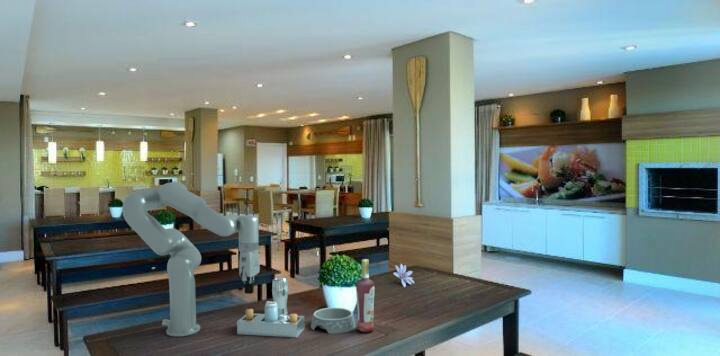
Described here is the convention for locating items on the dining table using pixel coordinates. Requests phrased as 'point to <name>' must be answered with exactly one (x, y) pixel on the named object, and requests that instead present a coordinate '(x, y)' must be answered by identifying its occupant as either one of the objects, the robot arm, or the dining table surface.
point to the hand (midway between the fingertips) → (249, 292)
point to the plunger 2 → (293, 318)
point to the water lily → (403, 275)
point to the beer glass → (280, 294)
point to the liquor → (365, 300)
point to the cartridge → (271, 311)
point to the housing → (270, 326)
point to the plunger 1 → (249, 314)
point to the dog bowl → (333, 320)
